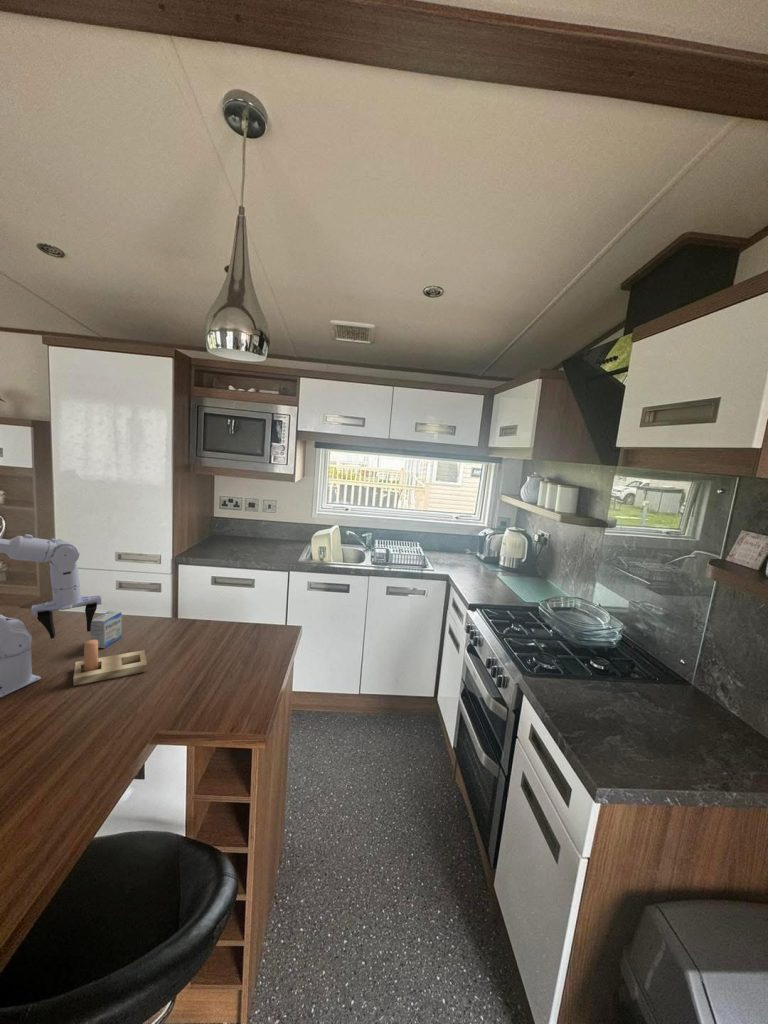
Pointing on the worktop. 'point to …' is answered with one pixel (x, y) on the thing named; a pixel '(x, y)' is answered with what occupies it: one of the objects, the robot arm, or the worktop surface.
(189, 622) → the worktop surface
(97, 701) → the worktop surface
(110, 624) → the medicine box
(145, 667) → the hole block
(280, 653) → the worktop surface
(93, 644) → the peg
